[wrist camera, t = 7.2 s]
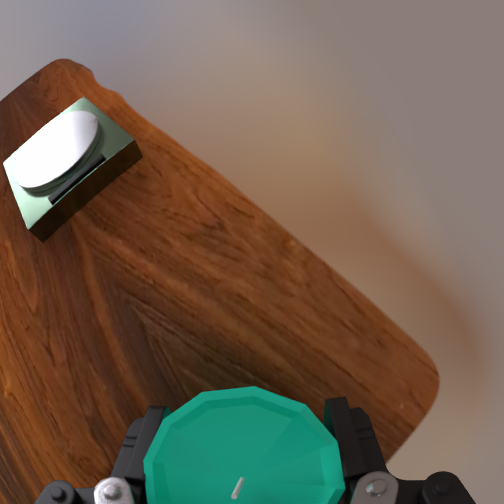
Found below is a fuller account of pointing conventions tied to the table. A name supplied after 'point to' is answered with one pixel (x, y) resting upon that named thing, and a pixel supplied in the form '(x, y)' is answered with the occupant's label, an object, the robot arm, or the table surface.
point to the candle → (243, 452)
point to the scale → (68, 165)
